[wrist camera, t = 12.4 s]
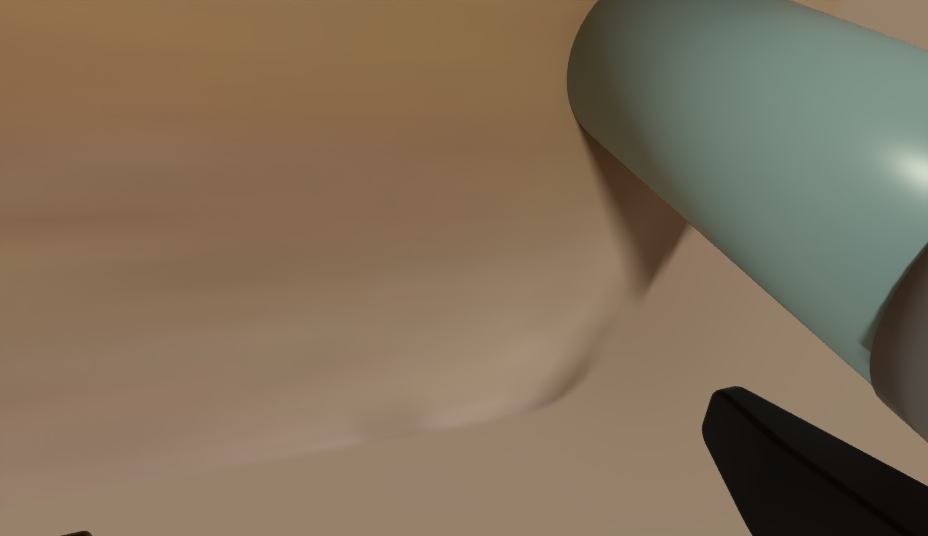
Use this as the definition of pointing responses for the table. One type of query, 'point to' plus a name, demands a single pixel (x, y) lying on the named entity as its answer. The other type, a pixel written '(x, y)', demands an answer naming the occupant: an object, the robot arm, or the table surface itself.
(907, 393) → the canister
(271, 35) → the table surface
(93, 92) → the table surface
